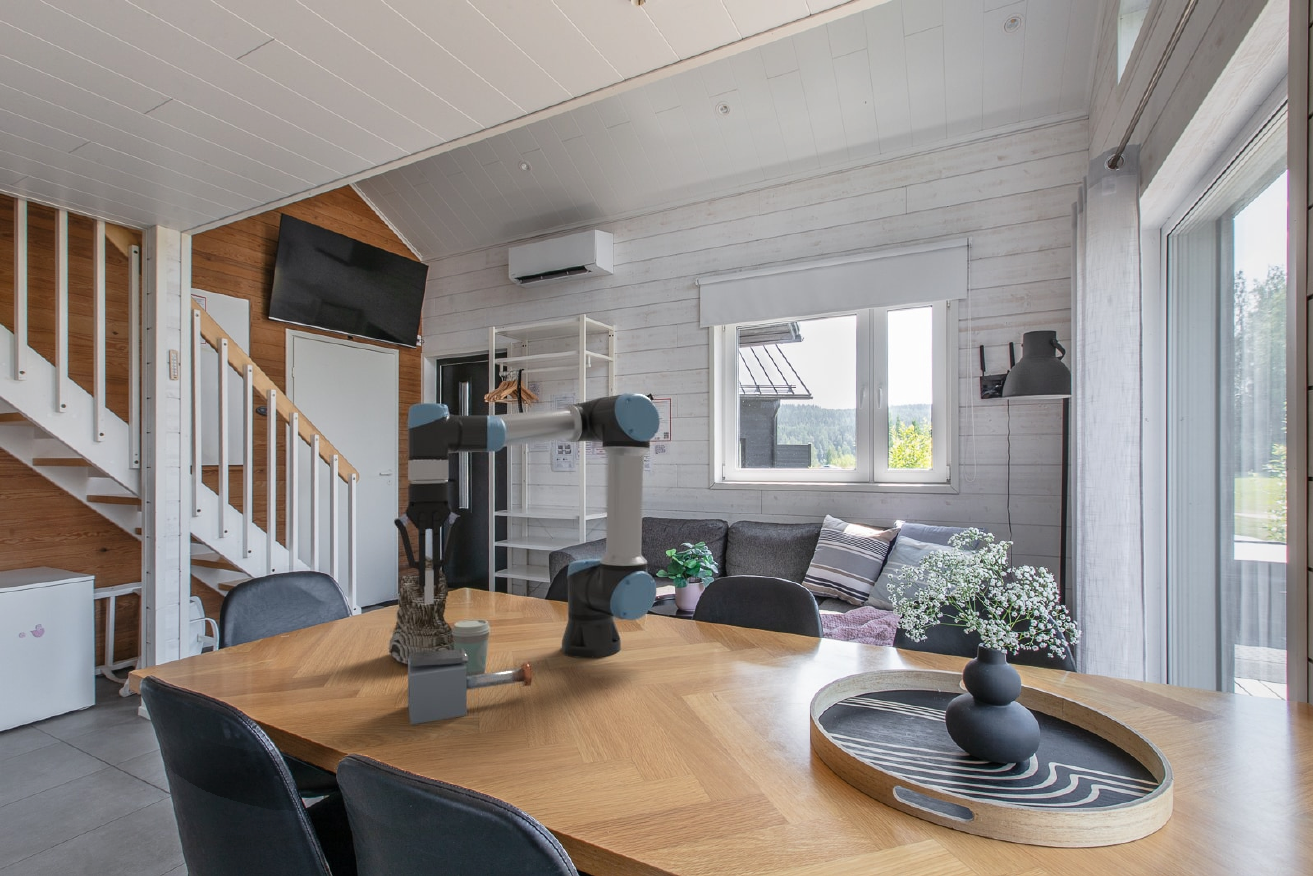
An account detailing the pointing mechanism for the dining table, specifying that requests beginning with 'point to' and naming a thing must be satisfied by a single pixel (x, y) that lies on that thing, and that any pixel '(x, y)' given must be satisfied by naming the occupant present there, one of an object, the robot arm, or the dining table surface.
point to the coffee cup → (472, 643)
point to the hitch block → (436, 692)
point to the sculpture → (420, 619)
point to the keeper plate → (438, 657)
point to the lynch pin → (501, 678)
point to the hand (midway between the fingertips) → (429, 602)
